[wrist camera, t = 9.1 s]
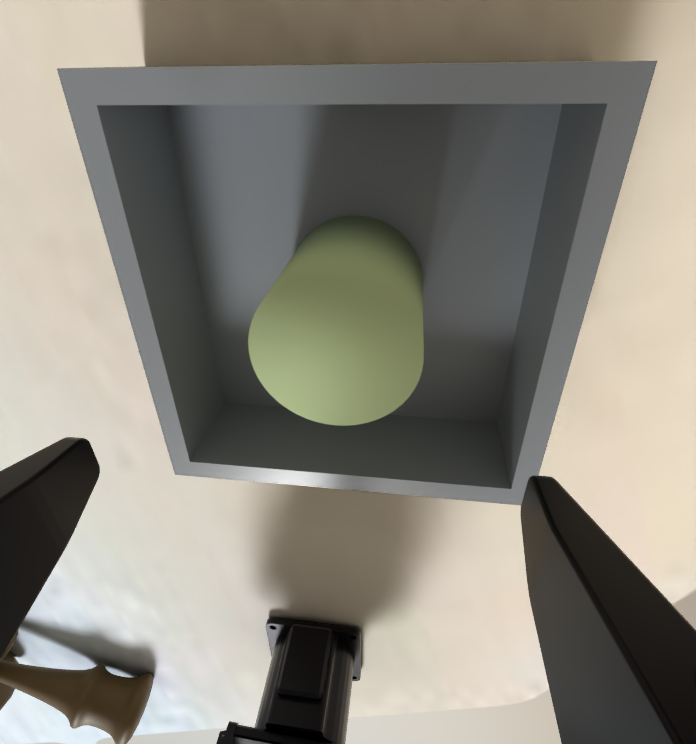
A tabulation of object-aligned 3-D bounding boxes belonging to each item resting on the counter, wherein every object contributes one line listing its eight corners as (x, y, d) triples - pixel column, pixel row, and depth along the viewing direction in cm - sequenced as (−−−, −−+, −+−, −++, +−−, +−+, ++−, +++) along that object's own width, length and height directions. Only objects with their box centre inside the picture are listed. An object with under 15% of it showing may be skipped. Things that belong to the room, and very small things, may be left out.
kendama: (150, 694, 44) (-74, 630, 42) (170, 647, 39) (-84, 570, 36) (118, 774, 39) (-140, 708, 36) (136, 732, 34) (-161, 651, 31)
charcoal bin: (510, 429, 22) (529, 505, 18) (214, 407, 23) (174, 474, 19) (593, 60, 14) (657, 60, 10) (144, 66, 16) (56, 68, 12)
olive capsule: (418, 343, 19) (417, 430, 15) (296, 337, 20) (258, 419, 15) (427, 216, 16) (431, 275, 12) (286, 213, 17) (237, 269, 12)
